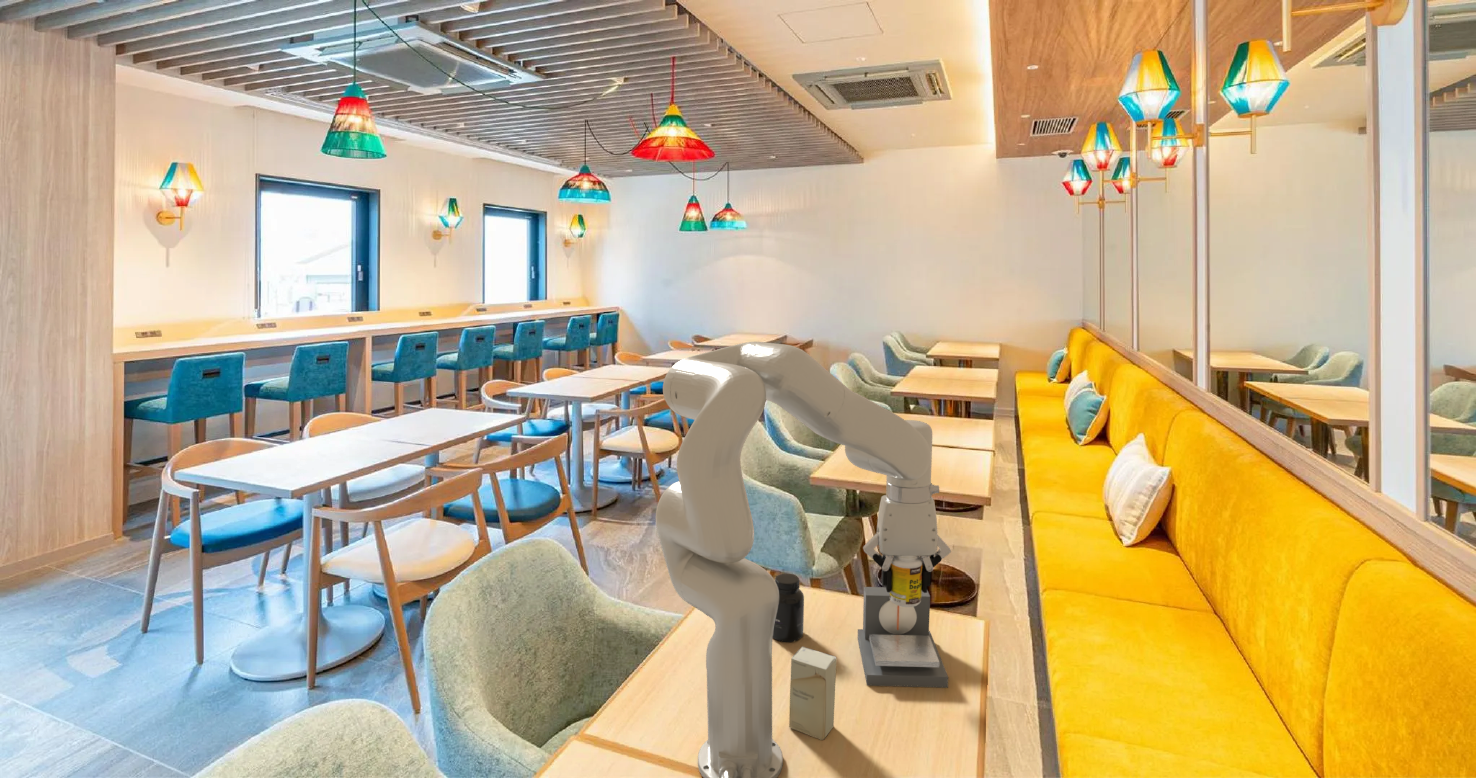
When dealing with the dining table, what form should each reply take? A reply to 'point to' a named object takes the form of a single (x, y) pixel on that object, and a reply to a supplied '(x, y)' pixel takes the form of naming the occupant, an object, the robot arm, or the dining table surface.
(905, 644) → the scale pan
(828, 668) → the skincare box
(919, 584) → the supplement bottle
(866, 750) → the dining table surface
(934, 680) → the scale base
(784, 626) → the supplement bottle
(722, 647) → the robot arm
